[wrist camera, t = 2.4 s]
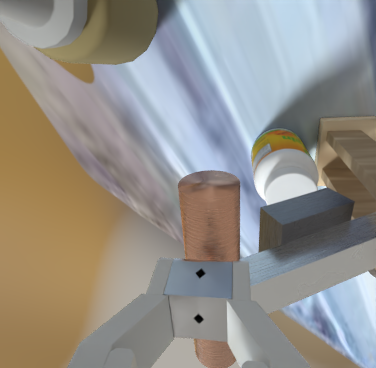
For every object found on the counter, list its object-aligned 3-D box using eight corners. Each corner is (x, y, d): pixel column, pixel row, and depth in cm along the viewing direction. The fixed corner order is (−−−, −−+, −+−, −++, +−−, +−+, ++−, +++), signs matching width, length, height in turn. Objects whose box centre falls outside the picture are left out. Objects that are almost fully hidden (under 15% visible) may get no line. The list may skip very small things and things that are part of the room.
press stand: (320, 117, 29) (400, 197, 15) (375, 115, 28) (514, 198, 14) (312, 180, 32) (371, 295, 18) (361, 180, 31) (463, 300, 17)
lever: (158, 164, 13) (192, 205, 10) (388, 114, 18) (466, 130, 14) (178, 314, 18) (206, 377, 14) (357, 244, 22) (412, 280, 19)
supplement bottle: (314, 145, 30) (344, 189, 22) (279, 183, 33) (295, 235, 24) (272, 116, 30) (287, 150, 21) (240, 157, 32) (242, 202, 24)
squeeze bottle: (76, 40, 29) (-115, 48, 13) (95, -56, 25) (-144, -208, 9) (151, 74, 29) (53, 122, 14) (180, -15, 26) (91, -94, 10)
